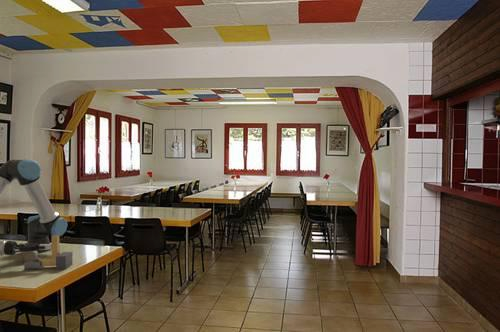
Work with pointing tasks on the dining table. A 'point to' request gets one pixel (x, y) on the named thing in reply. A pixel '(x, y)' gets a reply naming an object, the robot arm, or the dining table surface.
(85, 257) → the dining table surface
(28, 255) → the ceramic mug
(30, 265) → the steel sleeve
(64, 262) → the slotted grey block
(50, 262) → the t-shaped wooden piece
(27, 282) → the dining table surface
